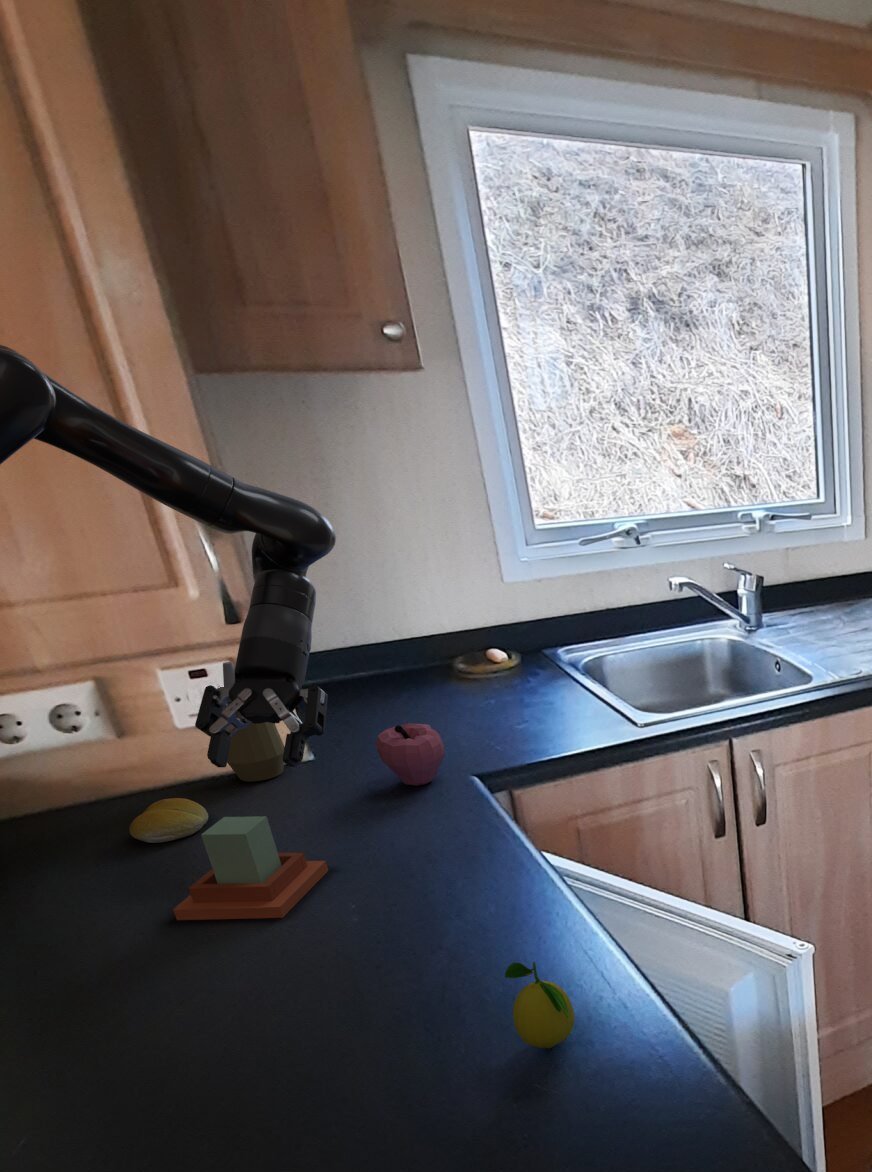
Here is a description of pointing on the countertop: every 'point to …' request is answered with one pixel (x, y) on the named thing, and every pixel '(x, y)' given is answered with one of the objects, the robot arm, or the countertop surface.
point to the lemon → (541, 1010)
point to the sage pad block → (241, 850)
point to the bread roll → (169, 820)
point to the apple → (411, 752)
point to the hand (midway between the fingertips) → (254, 764)
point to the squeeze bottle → (253, 744)
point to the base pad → (253, 892)
